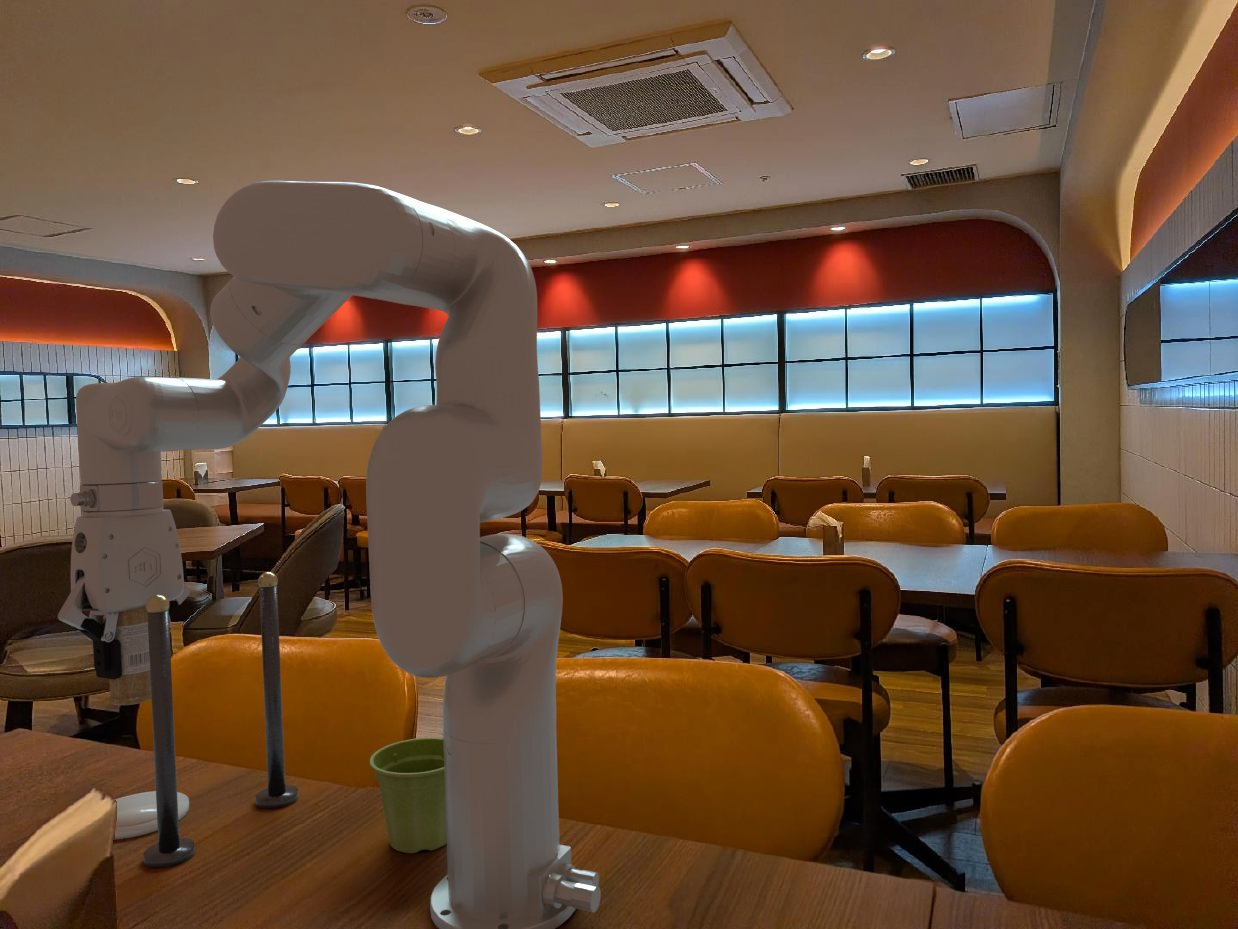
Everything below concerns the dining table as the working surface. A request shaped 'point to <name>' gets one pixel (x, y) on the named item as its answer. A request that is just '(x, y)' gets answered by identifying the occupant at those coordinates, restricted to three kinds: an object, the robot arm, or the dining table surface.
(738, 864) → the dining table surface
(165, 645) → the pair of dark posts
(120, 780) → the dining table surface
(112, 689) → the sprinkles bottle
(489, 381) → the robot arm
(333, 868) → the dining table surface
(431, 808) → the plant pot
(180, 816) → the white round disc
